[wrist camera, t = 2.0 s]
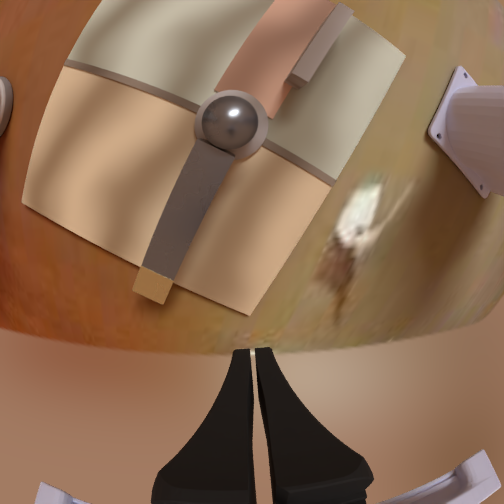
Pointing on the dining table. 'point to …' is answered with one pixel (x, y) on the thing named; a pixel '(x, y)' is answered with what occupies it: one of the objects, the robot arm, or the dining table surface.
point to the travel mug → (5, 103)
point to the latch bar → (194, 192)
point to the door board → (190, 129)
